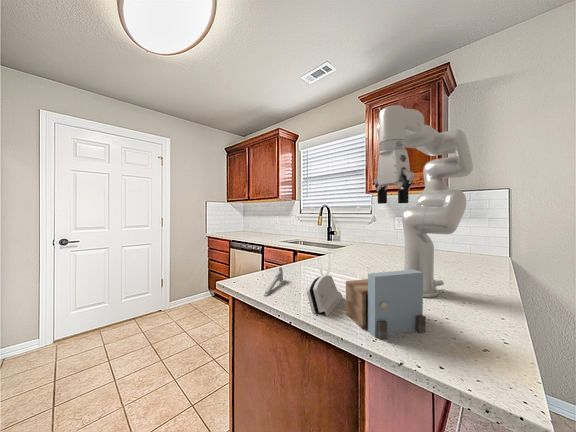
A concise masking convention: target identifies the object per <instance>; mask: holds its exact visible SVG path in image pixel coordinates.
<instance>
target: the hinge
mask: <svg viewBox="0 0 576 432" xmlns="http://www.w3.org/2000/svg"><path fill="white" fill-rule="evenodd" d="M306 295H307V299H308V302H309V306H310V310H311V313H312V314H316V313H323V312H324V313H325V316H326V317H329V316H330V315H331V313H332V312H333V311H334V309H335V308H336V307H337V305H339V303H340V302H341V301H342V299H343V297H344V296H343V294H342V292H341V291H339V290H338V288H337V286H336V283H335V281H334V279H333V277H332V275H322V276H318V277H316V278H314V279H313V280H311V282H310V283H309V285H307V288H306ZM340 300H341V301H340Z"/></svg>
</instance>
